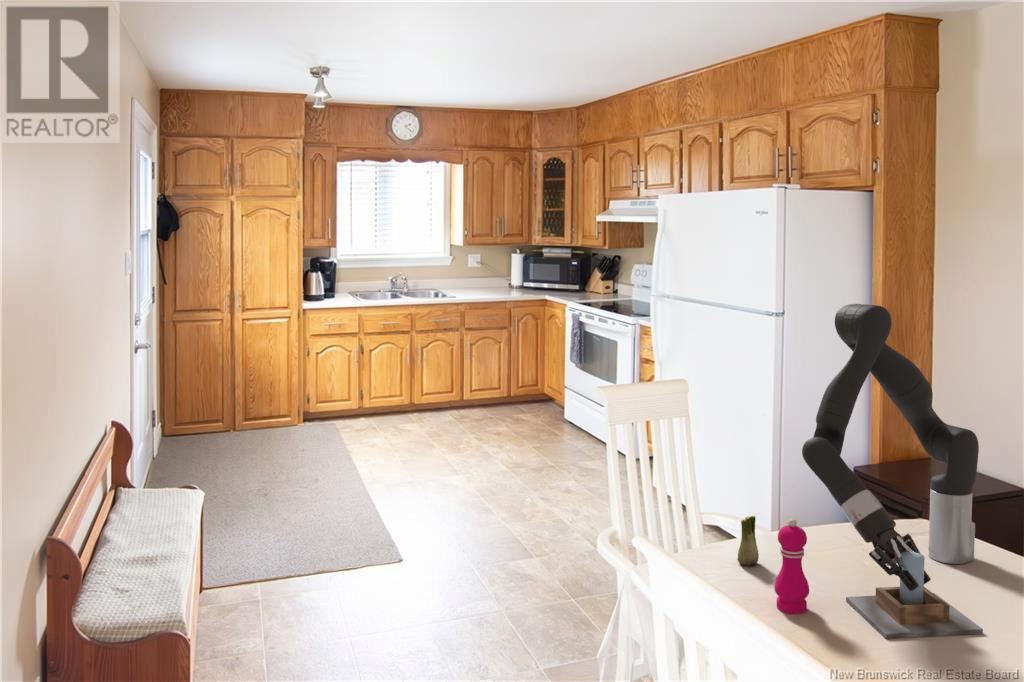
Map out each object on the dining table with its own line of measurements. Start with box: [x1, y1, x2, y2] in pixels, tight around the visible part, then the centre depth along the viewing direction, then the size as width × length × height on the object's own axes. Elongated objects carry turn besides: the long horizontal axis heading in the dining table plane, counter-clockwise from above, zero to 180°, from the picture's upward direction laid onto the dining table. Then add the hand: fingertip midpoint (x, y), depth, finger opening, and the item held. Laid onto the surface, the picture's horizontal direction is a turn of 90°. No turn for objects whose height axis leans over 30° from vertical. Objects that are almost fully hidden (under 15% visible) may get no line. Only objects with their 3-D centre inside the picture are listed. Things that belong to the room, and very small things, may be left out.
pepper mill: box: [774, 518, 810, 615], centre depth 184 cm, size 7×7×20 cm
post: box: [899, 551, 925, 605], centre depth 178 cm, size 4×4×11 cm
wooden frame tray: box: [845, 586, 984, 640], centre depth 179 cm, size 20×18×4 cm
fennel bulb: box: [737, 515, 760, 567], centre depth 210 cm, size 6×5×12 cm
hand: (920, 585), depth 177 cm, fingers closed on post, 4 cm apart
